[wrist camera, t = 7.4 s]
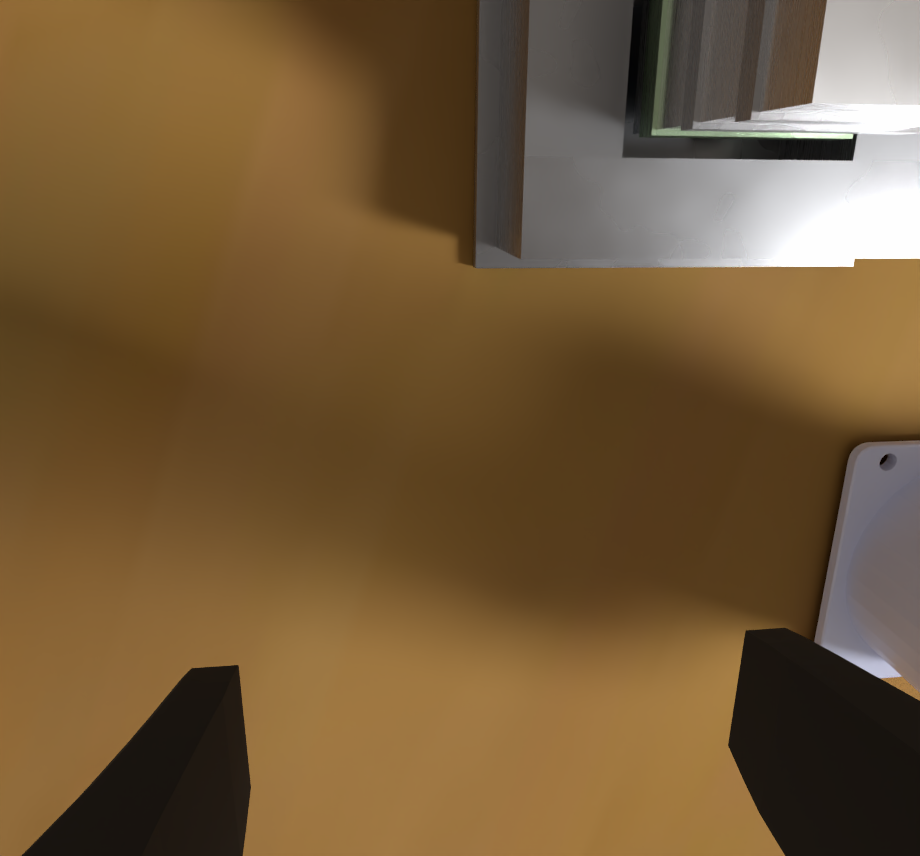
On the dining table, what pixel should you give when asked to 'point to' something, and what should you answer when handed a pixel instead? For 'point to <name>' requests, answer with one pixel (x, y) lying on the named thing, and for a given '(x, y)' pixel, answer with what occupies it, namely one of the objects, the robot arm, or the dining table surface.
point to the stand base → (656, 164)
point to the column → (778, 69)
